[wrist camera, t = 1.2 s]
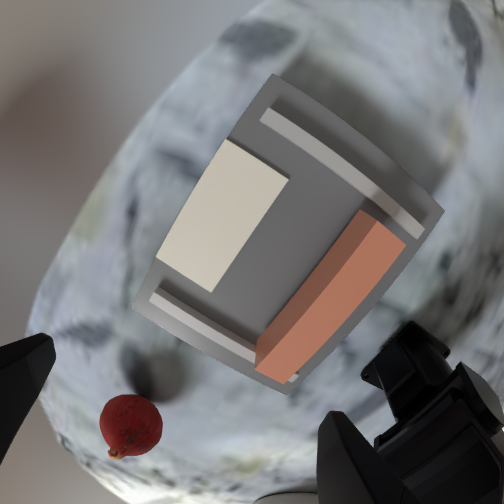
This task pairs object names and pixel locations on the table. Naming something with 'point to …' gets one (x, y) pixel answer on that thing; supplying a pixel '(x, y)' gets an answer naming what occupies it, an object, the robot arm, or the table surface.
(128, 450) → the pomegranate
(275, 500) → the cylinder vase
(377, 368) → the robot arm
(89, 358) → the table surface
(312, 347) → the lever
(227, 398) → the table surface
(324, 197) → the box
